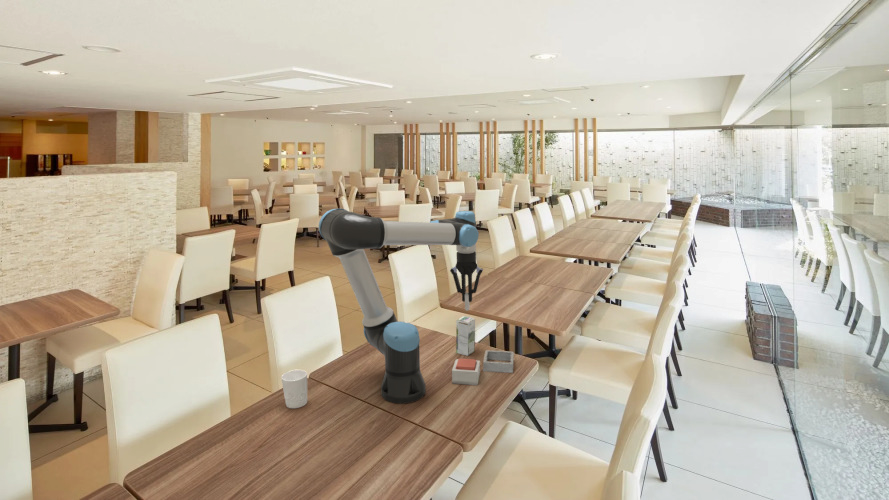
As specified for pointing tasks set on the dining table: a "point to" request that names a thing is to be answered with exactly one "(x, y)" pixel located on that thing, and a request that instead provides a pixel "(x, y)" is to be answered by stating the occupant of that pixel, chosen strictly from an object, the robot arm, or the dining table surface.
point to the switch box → (466, 375)
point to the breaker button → (466, 364)
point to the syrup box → (465, 335)
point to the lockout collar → (498, 365)
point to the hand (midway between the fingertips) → (467, 309)
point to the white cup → (295, 388)
